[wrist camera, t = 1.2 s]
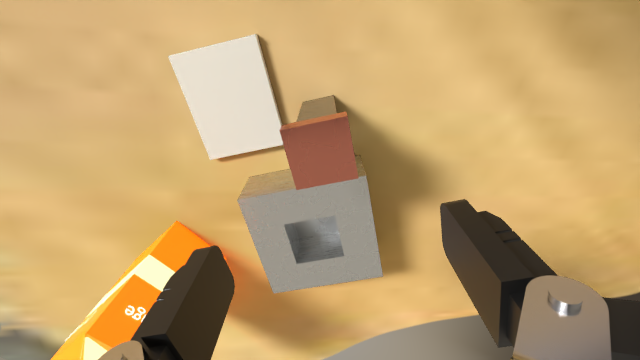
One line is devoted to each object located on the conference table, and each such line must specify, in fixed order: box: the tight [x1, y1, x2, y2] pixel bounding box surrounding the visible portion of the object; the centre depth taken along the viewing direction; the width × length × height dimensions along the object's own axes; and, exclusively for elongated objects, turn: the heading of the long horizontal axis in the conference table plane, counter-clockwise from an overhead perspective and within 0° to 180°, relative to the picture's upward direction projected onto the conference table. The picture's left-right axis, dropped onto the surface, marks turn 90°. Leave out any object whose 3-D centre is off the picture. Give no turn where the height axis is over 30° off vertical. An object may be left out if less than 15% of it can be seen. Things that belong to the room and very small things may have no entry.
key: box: [279, 95, 358, 190], centre depth 24 cm, size 4×4×11 cm
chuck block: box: [237, 155, 383, 293], centre depth 31 cm, size 12×12×5 cm
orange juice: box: [51, 221, 226, 360], centre depth 28 cm, size 8×9×20 cm
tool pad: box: [168, 34, 283, 160], centre depth 28 cm, size 10×8×1 cm
